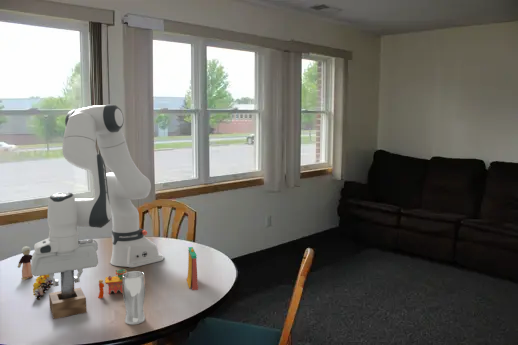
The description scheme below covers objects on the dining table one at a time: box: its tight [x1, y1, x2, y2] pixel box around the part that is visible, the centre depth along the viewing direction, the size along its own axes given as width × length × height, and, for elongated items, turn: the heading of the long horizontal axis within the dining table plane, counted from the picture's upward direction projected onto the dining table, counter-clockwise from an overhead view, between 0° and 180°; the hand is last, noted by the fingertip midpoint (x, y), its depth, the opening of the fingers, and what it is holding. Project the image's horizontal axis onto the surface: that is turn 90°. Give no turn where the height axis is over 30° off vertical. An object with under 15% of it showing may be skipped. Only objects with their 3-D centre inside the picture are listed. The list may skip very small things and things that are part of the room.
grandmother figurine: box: [17, 246, 34, 281], centre depth 184 cm, size 8×4×13 cm, turn 168°
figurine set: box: [32, 274, 53, 301], centre depth 170 cm, size 3×16×7 cm, turn 7°
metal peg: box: [60, 270, 75, 300], centre depth 155 cm, size 4×4×14 cm
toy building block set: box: [98, 246, 199, 299], centre depth 173 cm, size 12×35×14 cm, turn 105°
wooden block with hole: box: [48, 287, 88, 320], centre depth 155 cm, size 10×10×5 cm
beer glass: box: [122, 270, 146, 326], centre depth 146 cm, size 7×7×15 cm
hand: (66, 283), depth 154 cm, fingers open, 5 cm apart
